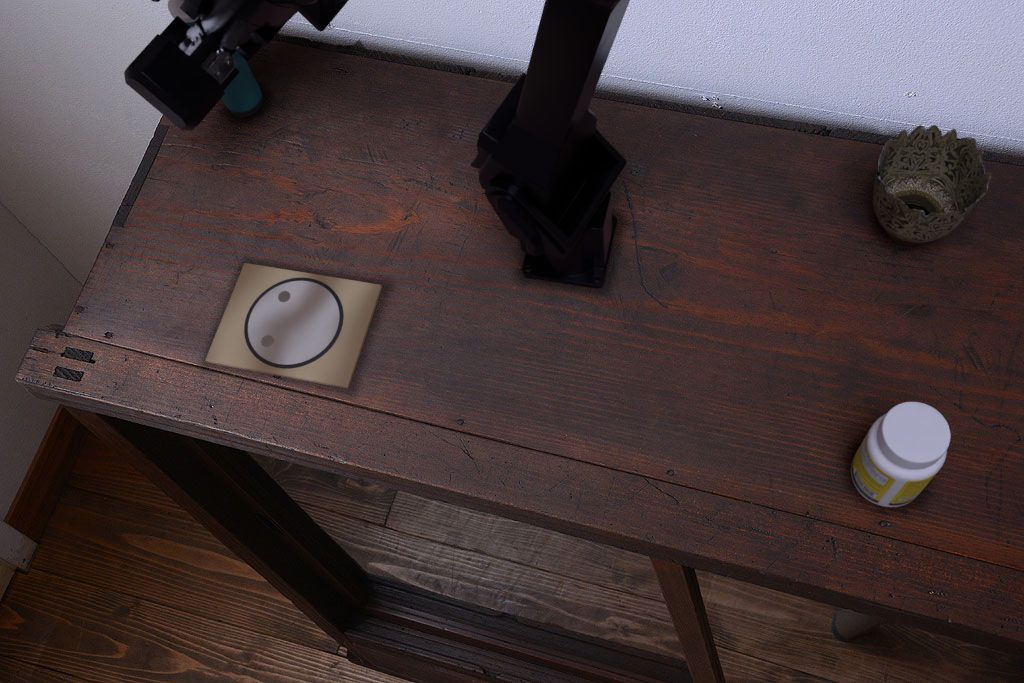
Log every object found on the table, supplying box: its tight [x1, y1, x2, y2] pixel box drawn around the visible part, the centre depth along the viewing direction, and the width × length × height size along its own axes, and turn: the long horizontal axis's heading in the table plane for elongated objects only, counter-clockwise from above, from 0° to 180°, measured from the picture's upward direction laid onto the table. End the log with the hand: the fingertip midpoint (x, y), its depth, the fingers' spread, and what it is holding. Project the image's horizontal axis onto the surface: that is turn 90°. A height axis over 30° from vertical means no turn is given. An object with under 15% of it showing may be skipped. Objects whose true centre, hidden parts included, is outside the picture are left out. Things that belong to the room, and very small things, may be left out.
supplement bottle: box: [850, 401, 952, 508], centre depth 63 cm, size 5×5×8 cm
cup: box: [872, 124, 993, 246], centre depth 71 cm, size 8×7×8 cm
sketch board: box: [204, 262, 383, 390], centre depth 77 cm, size 12×9×1 cm
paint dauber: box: [167, 0, 264, 118], centre depth 82 cm, size 4×4×12 cm
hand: (205, 46), depth 82 cm, fingers closed on paint dauber, 3 cm apart
